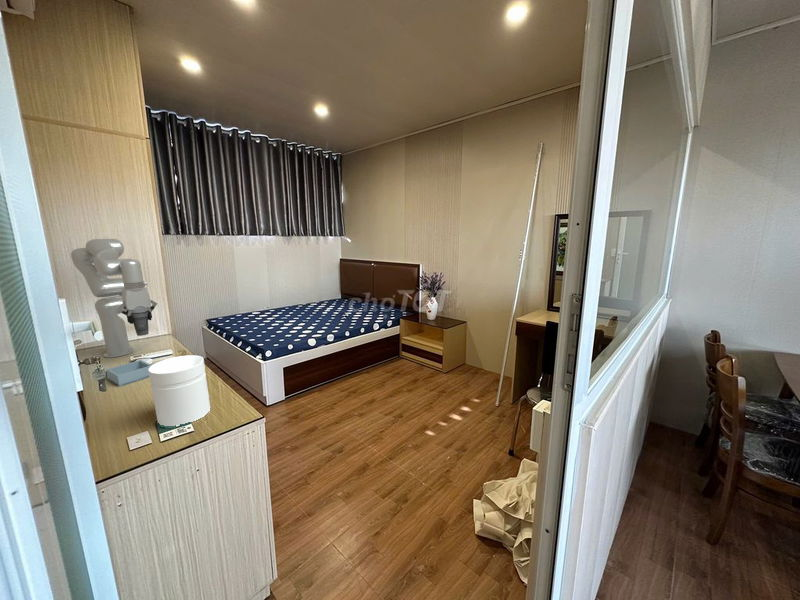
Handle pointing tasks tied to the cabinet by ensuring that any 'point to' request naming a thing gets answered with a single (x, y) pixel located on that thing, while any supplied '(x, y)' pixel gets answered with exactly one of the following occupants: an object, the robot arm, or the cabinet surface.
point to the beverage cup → (140, 320)
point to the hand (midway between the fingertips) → (140, 321)
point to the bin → (128, 373)
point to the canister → (179, 390)
